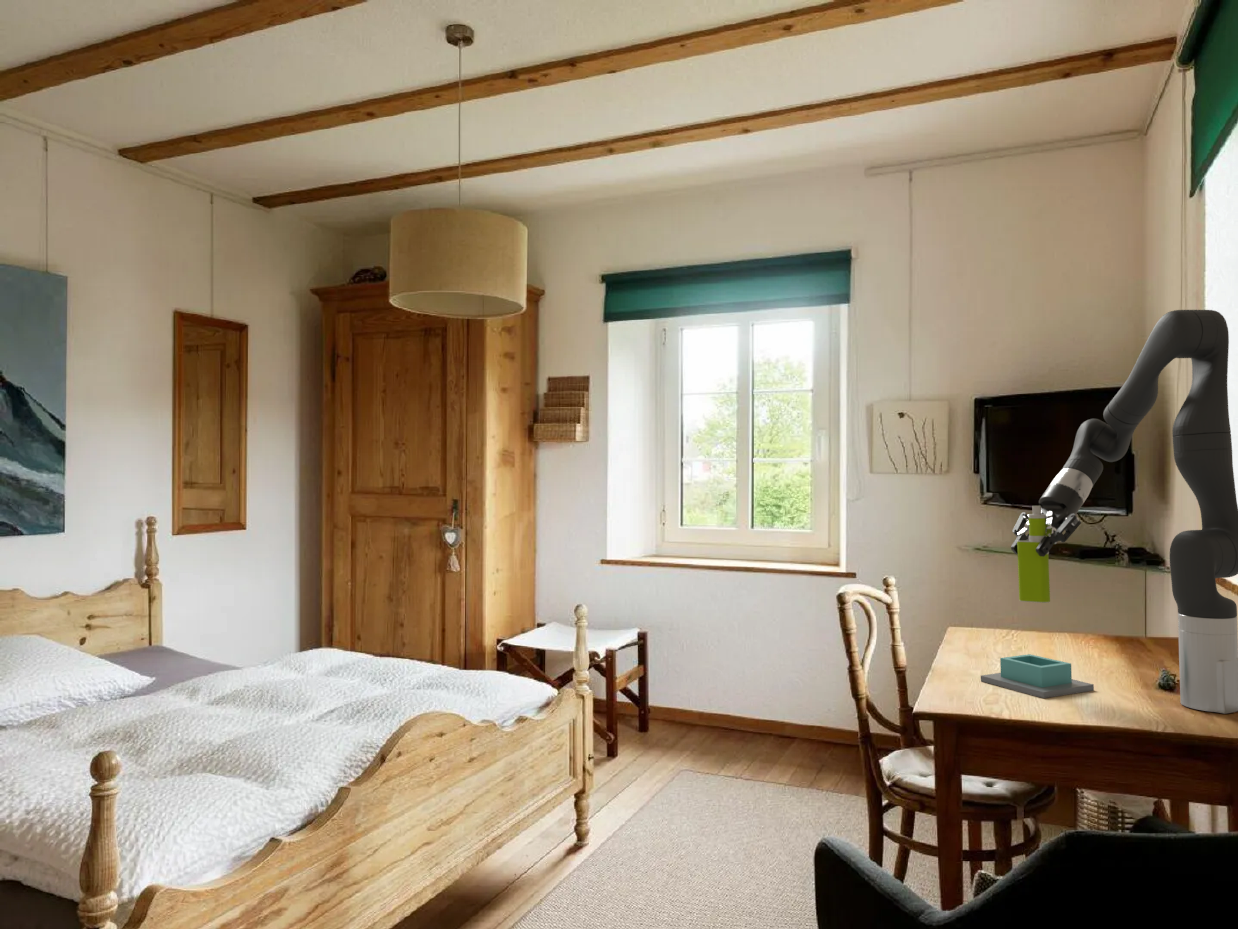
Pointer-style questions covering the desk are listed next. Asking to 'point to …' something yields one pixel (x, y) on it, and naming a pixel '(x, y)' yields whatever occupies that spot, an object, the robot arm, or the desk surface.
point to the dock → (1036, 676)
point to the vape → (1033, 562)
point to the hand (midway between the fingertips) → (1027, 552)
